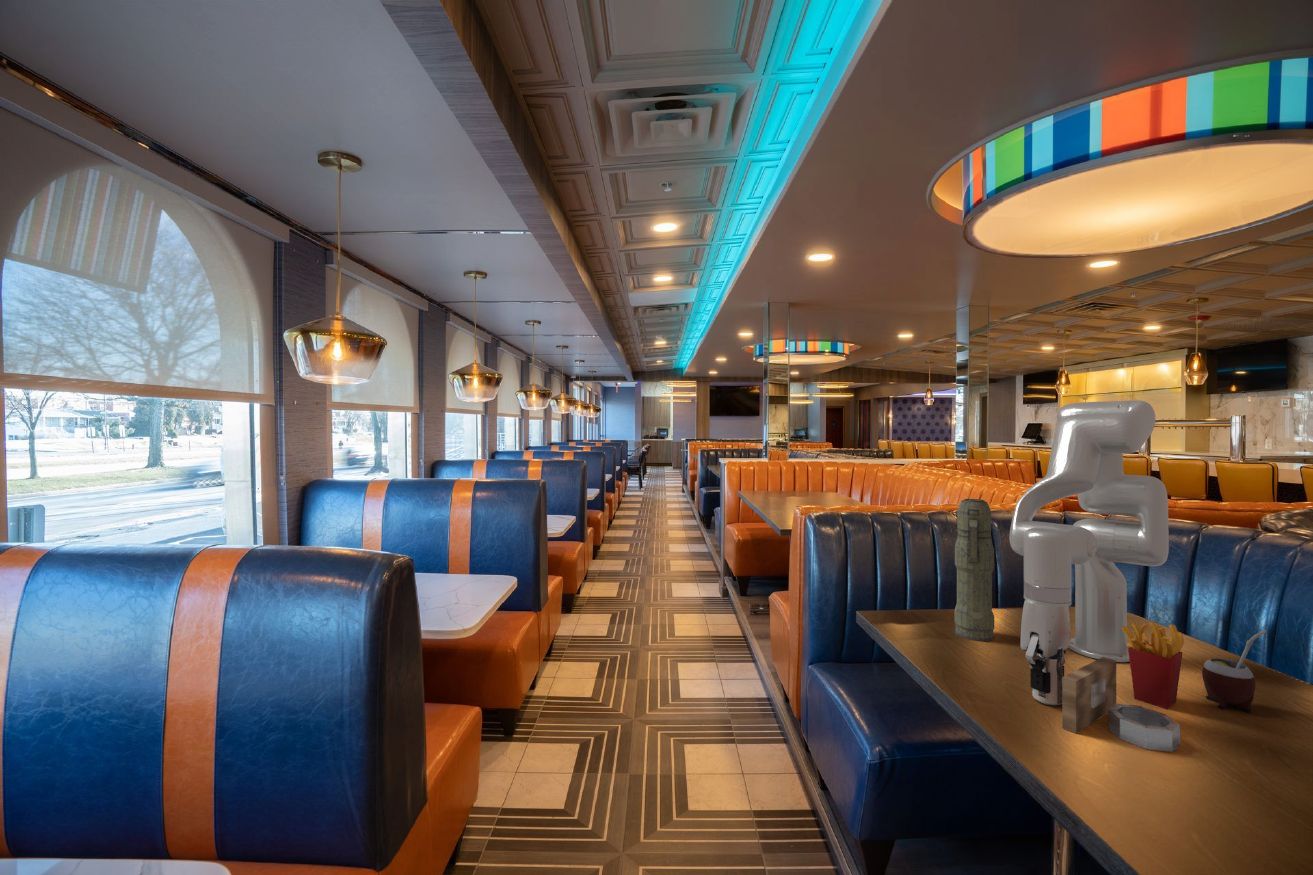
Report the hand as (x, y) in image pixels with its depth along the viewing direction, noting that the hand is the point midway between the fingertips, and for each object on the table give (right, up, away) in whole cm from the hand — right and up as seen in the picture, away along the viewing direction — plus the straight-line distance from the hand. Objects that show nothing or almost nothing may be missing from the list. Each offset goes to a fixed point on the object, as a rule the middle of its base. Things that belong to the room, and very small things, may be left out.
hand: (1047, 685), depth 106 cm
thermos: (+6, -3, +36) cm, 36 cm away
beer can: (0, -3, 0) cm, 3 cm away
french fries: (+22, -3, +1) cm, 22 cm away
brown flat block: (+3, -3, -6) cm, 8 cm away
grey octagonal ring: (+7, -3, -13) cm, 15 cm away
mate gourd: (+34, -3, -2) cm, 34 cm away
